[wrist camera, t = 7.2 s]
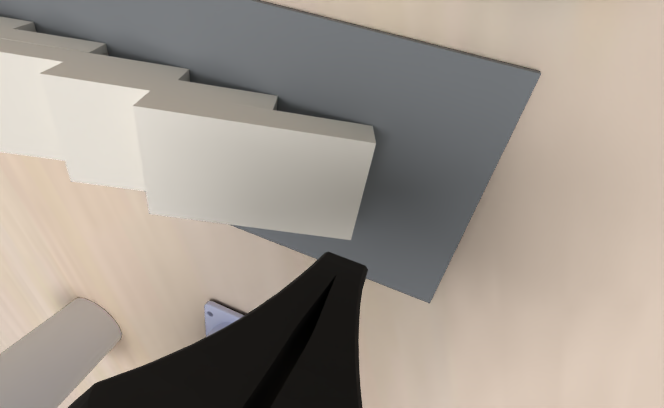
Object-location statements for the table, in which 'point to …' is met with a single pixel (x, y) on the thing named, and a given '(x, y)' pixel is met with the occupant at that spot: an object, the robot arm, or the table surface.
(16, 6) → the felt mat
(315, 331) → the robot arm
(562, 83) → the table surface
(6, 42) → the domino
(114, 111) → the domino
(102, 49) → the domino
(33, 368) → the drinking glass
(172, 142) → the domino
